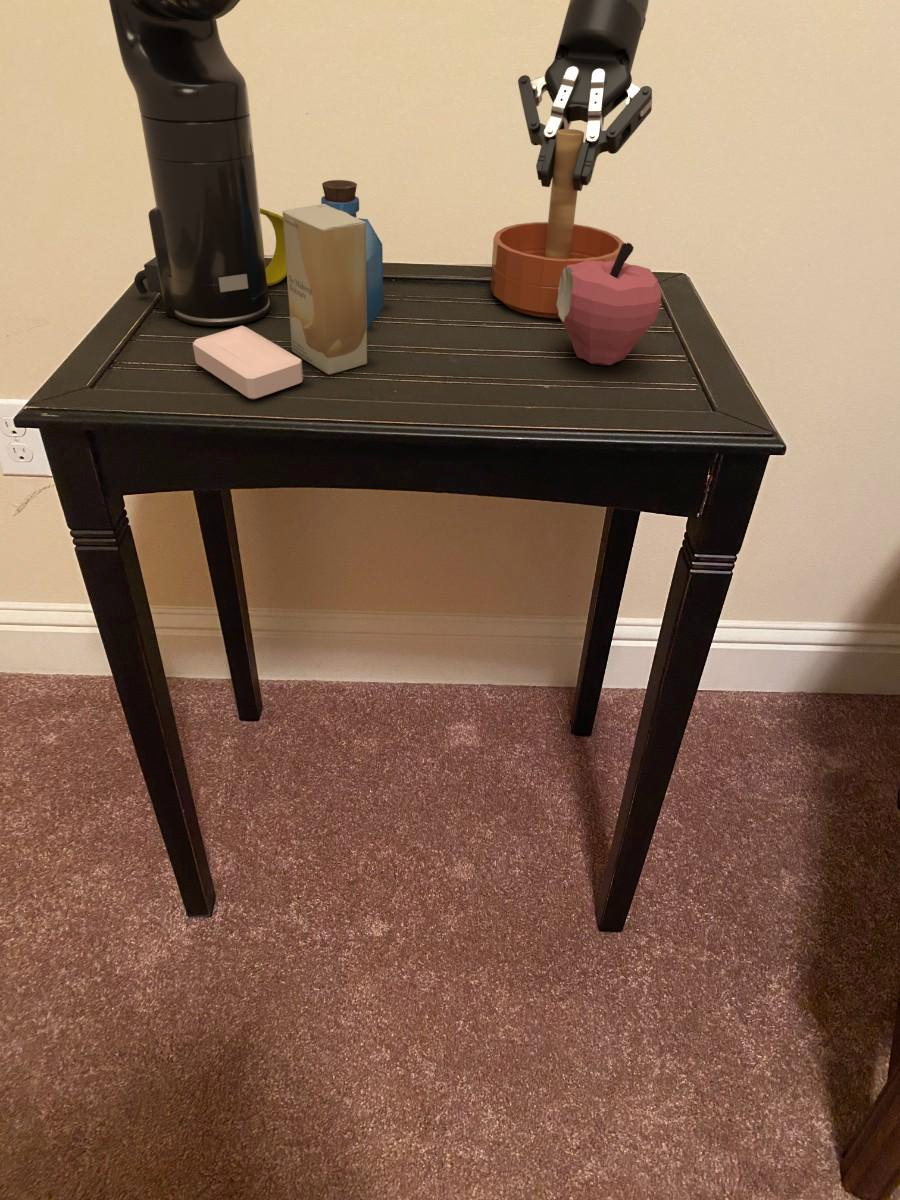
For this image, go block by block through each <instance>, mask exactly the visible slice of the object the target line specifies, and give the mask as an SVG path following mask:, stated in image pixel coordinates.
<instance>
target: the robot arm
mask: <svg viewBox="0 0 900 1200" xmlns="http://www.w3.org/2000/svg"><path fill="white" fill-rule="evenodd" d="M108 2H109V3H108V4H109V6H110V13H111V16H112V21H113V26H114V32H115V35H116V41H117V46H118V49H119V55H120V57H121V58H120V59H121V62H122V64H123V68H124V70H125V72H126V75H127V77H128V79H129V82H130V83H131V85H132V87H133V89H134V92H135V94H136V95H135V96H136V99H137V103H138V109H139V113H140V120H141V126H142V132H143V137H144V144H145V149H146V153H147V154H146V155H147V160H148V166H149V172H150V177H151V178H150V179H151V184H152V190H153V195H154V202H155V207H153V208H151V209H150V211H148V216H147V217H148V222H149V227H150V233H151V239H152V245H153V250H154V255H155V256H154V257H153V258H151V259H150V260H149V261H147V262H146V263H144V264H143V268H144V269H142V270H139V271H138V272H137V273H136V274H135V276H134V279H133V282H134V285H135V287H136V289H137V291H138V293H139V294H140V295H145V294H147V293H148V292H150V293H159V294H161V295H162V302H163V307H164V313H165V317H172V318H173V317H174V318H176V319H178V320H180V321H182V322H184V323H187V324H189V325H190V324H191V325H195V326H203V327H231V326H238V325H239V326H240V325H244V324H248V323H251V322H254V321H257V320H259V319H261V318H263V317H264V316H266V315H267V314H268V313H269V312H270V310H271V301H270V300H271V299H270V298H269V286H268V285H267V279H266V270H265V269H266V259H265V250H264V240H263V239H264V238H263V229H262V219H261V214H260V208H261V207H260V198H259V191H258V190H259V188H258V180H257V169H256V161H255V160H256V159H255V149H254V141H253V130H252V129H253V128H252V120H251V114H250V112H251V110H250V102H249V101H250V100H249V91H248V86H247V82H246V80H245V77H244V76H243V74H242V73H241V72H240V70H238V68H237V67H236V66H235V64H234V63H232V60H231V59H230V58H229V56H228V54H227V52H226V51H225V48H224V46H223V44H222V41H221V37H220V33H219V28H218V22H217V20H218V19H221V18H223V17H225V16H226V15H228V13H230V12H231V11H233V10H234V9H235V8H236V6H237V5H238V4H239V3H240V2H241V0H108ZM649 2H650V0H569V3H568V6H567V10H566V14H565V17H564V21H563V24H562V29H561V32H560V36H559V40H558V44H557V47H556V51H555V54H554V58H553V61H552V63H551V64H550V65H549V66H548V68H547V69H546V71H545V73H544V75H542V76H539V77H536V78H533V79H531V78H530V76H529V75H527V74H523V75H521V76H520V77H518V80H517V85H518V90H519V95H520V101H521V105H522V109H523V114H524V119H525V123H526V127H527V132H528V136H529V140H530V144H532V146H540V149H539V154H538V157H537V160H536V165H535V169H536V175H537V179H538V181H540V182H541V187H544V188H551V185H552V176H553V166H554V156H555V145H556V135H557V131H558V130H561V129H570V127H571V125H572V122H577V121H582V122H584V123H587V124H586V132H585V139H584V141H583V142H582V144H581V148H580V151H579V155H578V159H577V163H576V166H575V170H574V174H573V188H574V190H576V191H578V192H582V190H583V187H584V186H588V185H589V184H590V183H591V181H592V177H593V173H594V170H595V166H596V162H597V159H598V156H599V155H601V154H602V153H606V152H608V153H609V154H610V155H611V154H612V155H614V154H617V153H618V152H619V151H620V150H621V148H623V146H624V145H625V143H627V141H628V140H629V139H630V138H631V136H632V135H633V134H634V133H635V132H636V130H638V128H639V127H640V126H641V124H642V123H643V122H644V121H645V120H646V118H647V117H648V116H649V115H650V113H651V112H652V110H653V107H652V106H653V89H652V87H651V86H649V85H644V86H642V87H641V88H640V87H639V86H637V85H636V84H634V83H632V82H633V76H632V73H631V72H632V69H633V65H634V61H635V57H636V53H637V51H638V46H639V43H640V39H641V34H642V31H643V30H644V28H645V25H646V21H647V18H646V16H647V12H648V8H649ZM546 92H547V93H548V95H549V98H550V99H551V101H552V106H551V110H550V115H549V117H548V120H547V122H546V124H544V123H542V122H541V120H540V116H539V111H538V108H537V107H539V106H540V103H541V102H542V101H543V94H544V93H546ZM624 101H625V106H624V108H623V109H622V110H621V112H619V114H618V115H617V116H616V117H615V119H614V120H612V122H611V123H610V124H609V126H608V127H607V128H606V130H604V124H605V118H606V117H608V115H609V114H610V113H612V111H614V110H616V108H617V107H618V106H619V105H621V104H622V103H623V102H624ZM144 280H146V285H147V287H146V285H145V284H144Z"/></svg>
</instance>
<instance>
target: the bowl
mask: <svg viewBox="0 0 900 1200" xmlns="http://www.w3.org/2000/svg"><path fill="white" fill-rule="evenodd" d="M547 227H548V221H535V222H525V223H517V224H512V225H509V226H505V227H503V228H501V229H499V230H498V231H496V232H495V235H494V236H493V242H492V258H491V270H490V271H491V273H490V291H491V293H492V295H493V296H494V297H495V298H497V300H500V302H501V303H502V304H503V305H504V306H506V307H508V308H509V309H511V310H513V311H516V312H518V313H521V314H524V315H528V316H534V317H537V318H547V319H560V317H559V315H558V314H559V311H558V308H557V299H558V288H559V283H560V278H561V275H562V271H563V269H564V268H565V266H566V265H572V264H578V263H580V262H583V261H602V262H607V261H616V258H617V256H618V253H619V251H620V248H621V246H622V244H624V243H625V242H624V241H623V240H622V238H620V237H619V236H617V235H615V234H614V233H612V232H609V231H607V230H603V229H601V228H596V227H594V226H588V225H582V224H576V223H574V227H573V235H572V244H571V253H570V259H560V258H549V257H545V248H546V237H547Z"/></svg>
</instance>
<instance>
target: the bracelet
mask: <svg viewBox="0 0 900 1200" xmlns="http://www.w3.org/2000/svg"><path fill="white" fill-rule="evenodd" d="M259 208H260V215H264V216H266V218H267V219H268V220H269V221H270V223H271V225H272V228H273V231H274V234H275V247H274V248H275V249H274V253H273V255H272V258H271V259H270V262H269V264H268V265H266V267H265V270H266V279H267V285H268V287H271V286H274V285H276V284H279V283H280V282H282V280H284V279H285V278H287V268H286V253H285V239H284V225H283V215H280V214H278V213H276V212H273V211H270V210H266V209H264V208H261V207H259Z"/></svg>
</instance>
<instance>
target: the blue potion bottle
mask: <svg viewBox="0 0 900 1200" xmlns="http://www.w3.org/2000/svg"><path fill="white" fill-rule="evenodd" d="M321 186H322V191H323V194H324V195H323V196H321V198H320V201H321V202H320V204H326V205H328V206H330V207H332V208H335V209H337V210H341V211H343V212H346V213H348V214H349V215H351V216H353V217H355V218H358V219H360V220H362V221H365V222H366V292H367V329H369V327H370V326H371V325H372V323H373V322H374V321H375V319H376V318H377V317H378V315H379V314H380V313H381V311H382V310H383V309H384V263H383V261H384V260H383V259H384V258H383V254H384V253H383V242H382V241H381V239H380V238H379V236H378V234H377V232H376V231H375V229H374V228H373V226H372V224H371V223H370V221H369V219H368V218H360V217H357V213H358V212H360V197H358V196H356V193H357V188H358V184H357V182H355V181H352V180H347V179H332V180H327V181H323V182H322V183H321Z"/></svg>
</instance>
